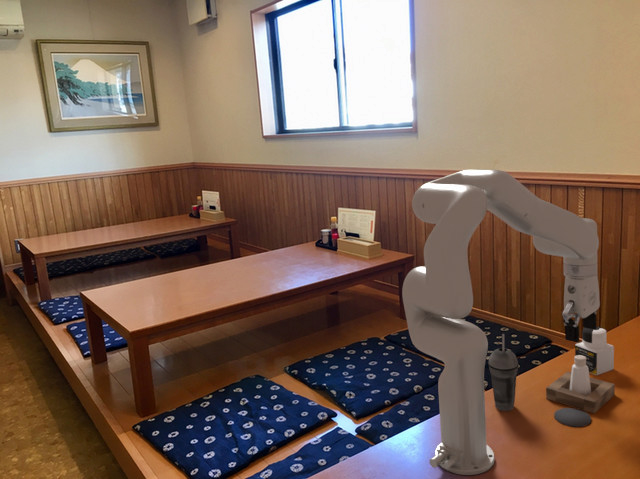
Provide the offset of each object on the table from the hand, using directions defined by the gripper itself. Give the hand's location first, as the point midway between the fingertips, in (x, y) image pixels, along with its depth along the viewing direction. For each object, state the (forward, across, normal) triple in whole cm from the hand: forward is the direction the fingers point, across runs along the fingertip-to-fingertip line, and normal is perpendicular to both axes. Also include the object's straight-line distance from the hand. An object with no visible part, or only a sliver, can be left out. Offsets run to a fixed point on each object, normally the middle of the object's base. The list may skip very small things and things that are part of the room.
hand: (581, 334), depth 137 cm
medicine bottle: (+17, +17, +4) cm, 25 cm away
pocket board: (+17, -1, 0) cm, 17 cm away
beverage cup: (+17, -17, +12) cm, 27 cm away
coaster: (+17, -12, -3) cm, 21 cm away
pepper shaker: (+17, -1, 0) cm, 17 cm away
